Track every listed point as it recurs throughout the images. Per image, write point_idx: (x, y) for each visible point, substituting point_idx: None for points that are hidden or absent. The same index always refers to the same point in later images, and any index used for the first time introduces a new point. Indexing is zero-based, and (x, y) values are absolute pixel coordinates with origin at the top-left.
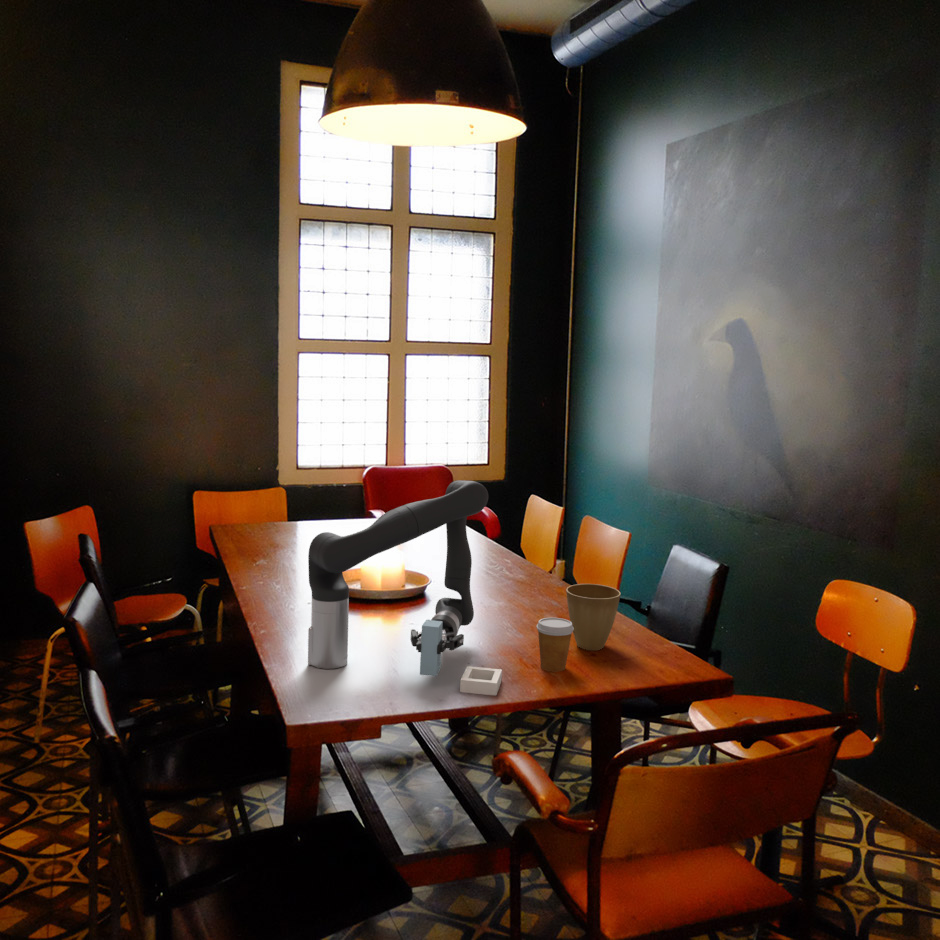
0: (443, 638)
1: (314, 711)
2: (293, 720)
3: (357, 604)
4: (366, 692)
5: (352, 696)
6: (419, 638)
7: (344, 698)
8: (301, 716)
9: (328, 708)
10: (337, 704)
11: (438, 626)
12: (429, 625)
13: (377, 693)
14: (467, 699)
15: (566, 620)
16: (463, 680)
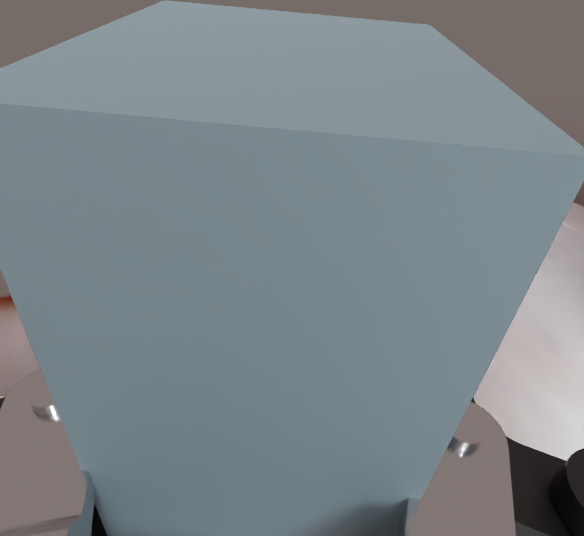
0: (44, 471)
1: (577, 241)
2: (576, 207)
3: None
4: (548, 380)
5: (567, 337)
6: (487, 421)
7: (579, 319)
8: (580, 221)
9: (558, 256)
10: (558, 279)
11: (162, 5)
12: (318, 20)
13: (494, 375)
14: (34, 362)
15: None
16: (3, 396)
